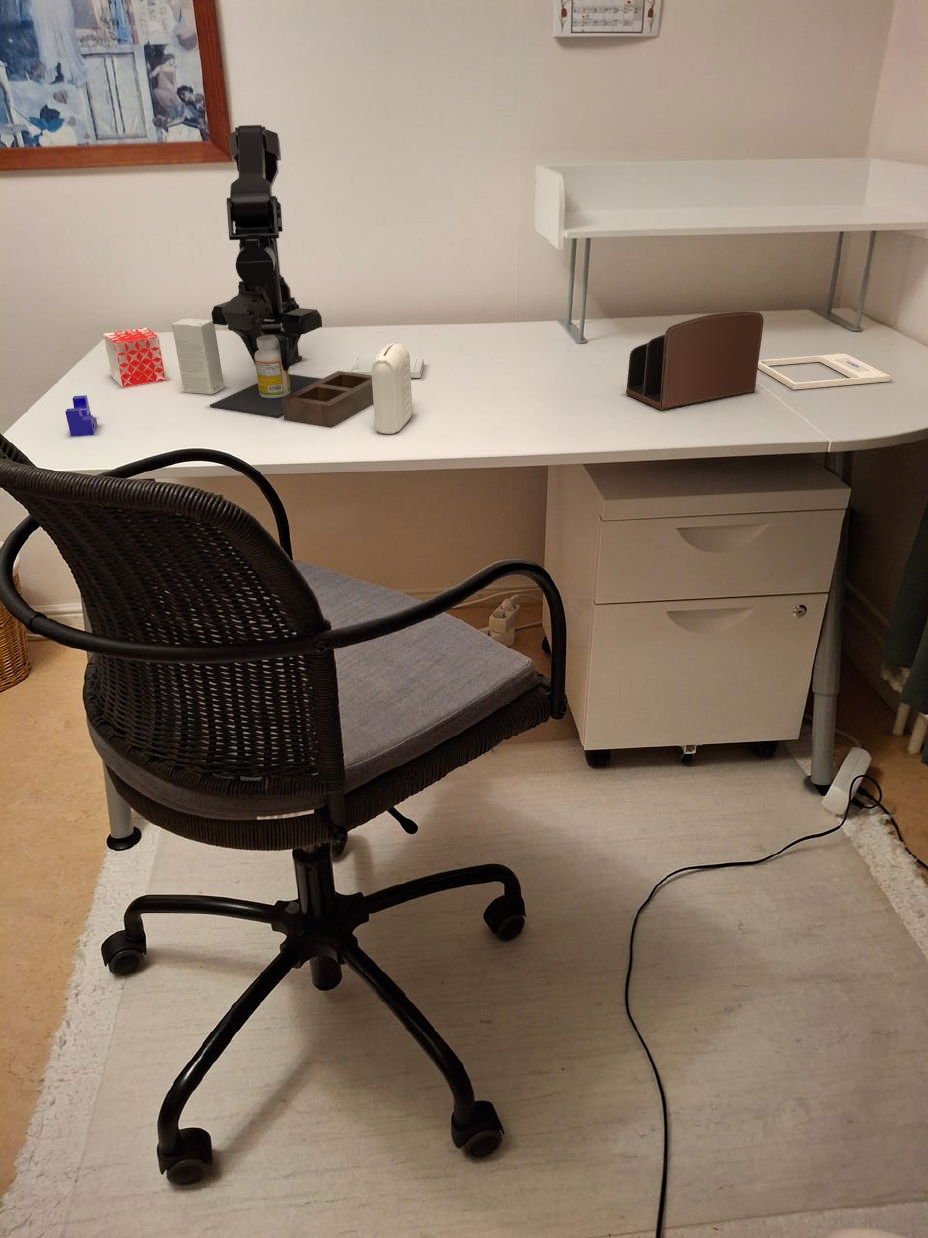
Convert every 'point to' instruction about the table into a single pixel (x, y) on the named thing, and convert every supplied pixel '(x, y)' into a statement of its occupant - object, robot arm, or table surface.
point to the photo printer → (391, 388)
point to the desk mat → (261, 398)
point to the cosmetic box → (198, 356)
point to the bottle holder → (329, 399)
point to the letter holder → (698, 361)
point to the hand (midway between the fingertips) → (272, 368)
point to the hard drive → (366, 364)
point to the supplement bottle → (271, 369)
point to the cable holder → (81, 418)
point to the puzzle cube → (135, 357)
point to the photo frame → (839, 362)
